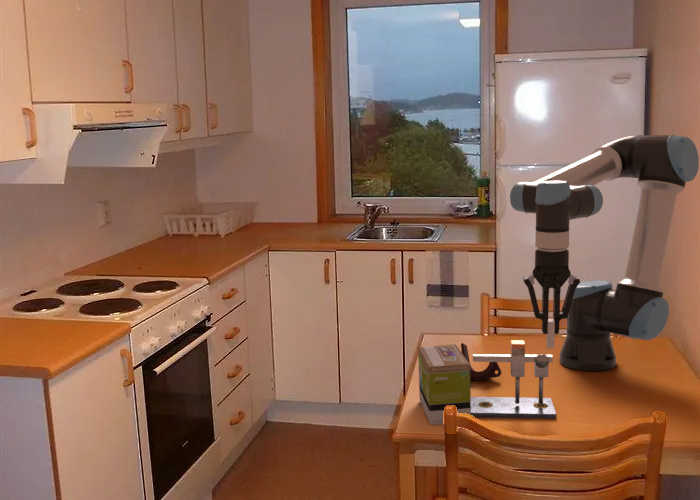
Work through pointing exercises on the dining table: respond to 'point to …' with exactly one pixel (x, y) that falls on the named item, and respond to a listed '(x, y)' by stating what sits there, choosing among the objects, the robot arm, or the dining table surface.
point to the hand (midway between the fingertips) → (550, 346)
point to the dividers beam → (539, 361)
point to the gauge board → (512, 408)
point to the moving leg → (517, 364)
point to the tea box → (443, 381)
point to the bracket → (484, 374)
